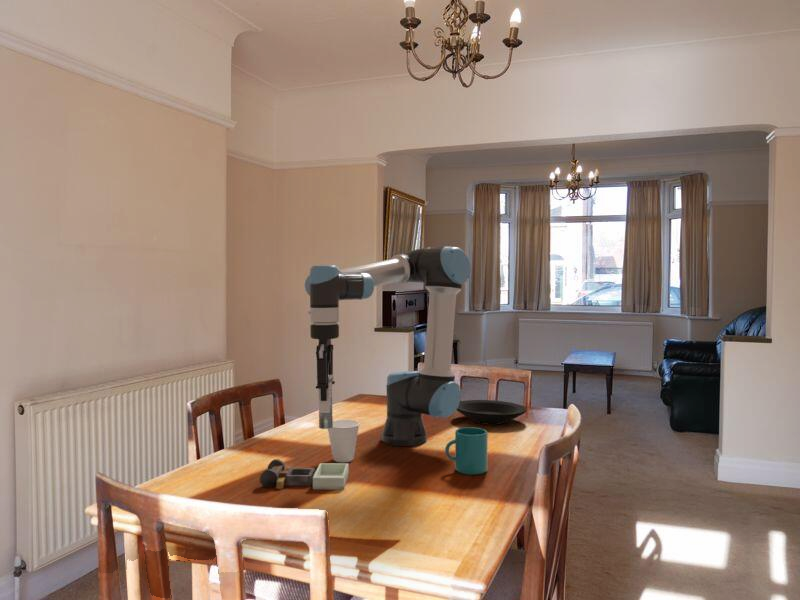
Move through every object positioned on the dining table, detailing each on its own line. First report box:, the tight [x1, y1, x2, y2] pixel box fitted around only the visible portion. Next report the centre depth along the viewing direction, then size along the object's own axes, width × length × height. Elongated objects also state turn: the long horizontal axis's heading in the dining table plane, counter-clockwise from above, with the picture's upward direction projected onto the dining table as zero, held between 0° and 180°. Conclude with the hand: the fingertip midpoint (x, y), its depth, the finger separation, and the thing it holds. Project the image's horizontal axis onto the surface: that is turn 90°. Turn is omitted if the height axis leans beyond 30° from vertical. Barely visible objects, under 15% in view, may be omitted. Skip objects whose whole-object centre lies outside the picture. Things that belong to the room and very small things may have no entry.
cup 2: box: [444, 426, 489, 476], centre depth 169 cm, size 9×12×11 cm
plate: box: [455, 399, 527, 426], centre depth 227 cm, size 28×24×6 cm
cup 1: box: [327, 419, 360, 464], centre depth 179 cm, size 10×10×11 cm
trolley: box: [259, 458, 316, 490], centre depth 160 cm, size 13×11×4 cm
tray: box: [312, 462, 350, 491], centre depth 160 cm, size 8×12×3 cm, turn 179°
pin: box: [317, 373, 334, 430], centre depth 160 cm, size 4×4×14 cm
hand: (325, 410), depth 160 cm, fingers closed on pin, 3 cm apart
